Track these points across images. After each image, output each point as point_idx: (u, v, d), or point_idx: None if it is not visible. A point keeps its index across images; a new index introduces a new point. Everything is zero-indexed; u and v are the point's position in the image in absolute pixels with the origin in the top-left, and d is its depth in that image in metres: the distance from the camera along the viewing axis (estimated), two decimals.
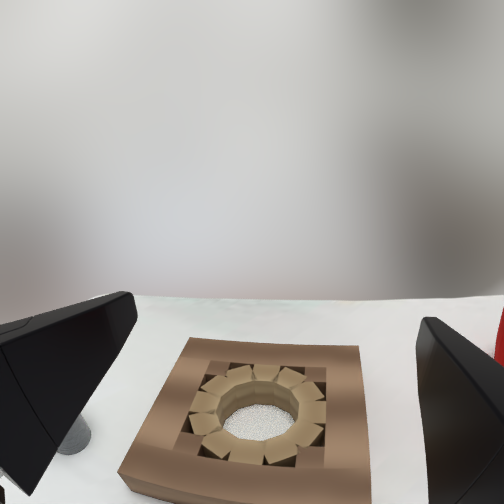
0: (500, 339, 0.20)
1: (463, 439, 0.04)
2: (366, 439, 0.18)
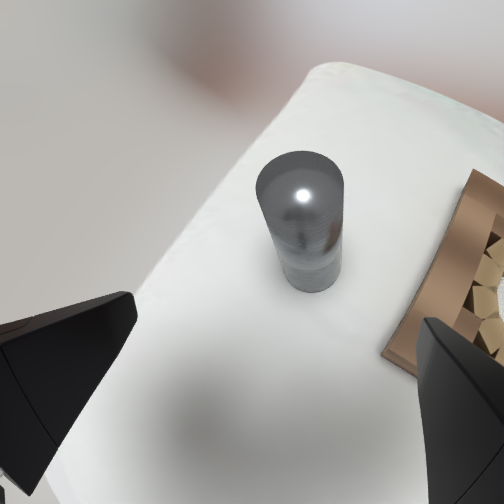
0: None
1: (463, 439, 0.04)
2: None
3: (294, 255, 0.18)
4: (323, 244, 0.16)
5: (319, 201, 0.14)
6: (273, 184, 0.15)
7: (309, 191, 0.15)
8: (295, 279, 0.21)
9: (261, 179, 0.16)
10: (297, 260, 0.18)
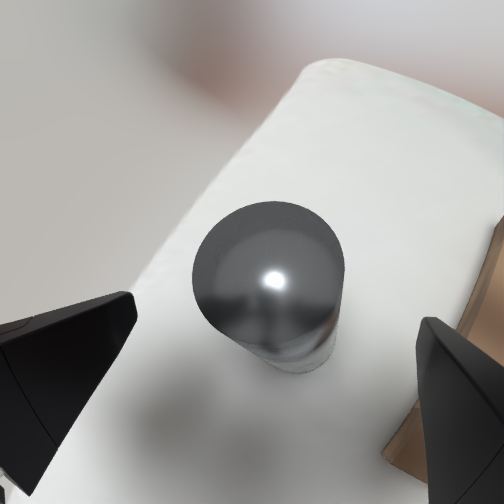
0: None
1: (463, 439, 0.04)
2: None
3: (263, 357, 0.11)
4: (306, 351, 0.10)
5: (298, 305, 0.08)
6: (222, 266, 0.09)
7: (282, 283, 0.08)
8: None
9: (203, 255, 0.09)
10: (268, 360, 0.12)
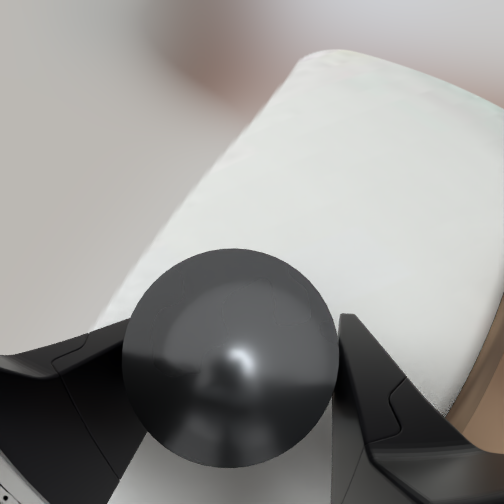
0: None
1: (344, 441, 0.05)
2: None
3: None
4: None
5: (265, 418, 0.05)
6: (159, 348, 0.06)
7: (242, 383, 0.05)
8: None
9: (135, 327, 0.06)
10: None
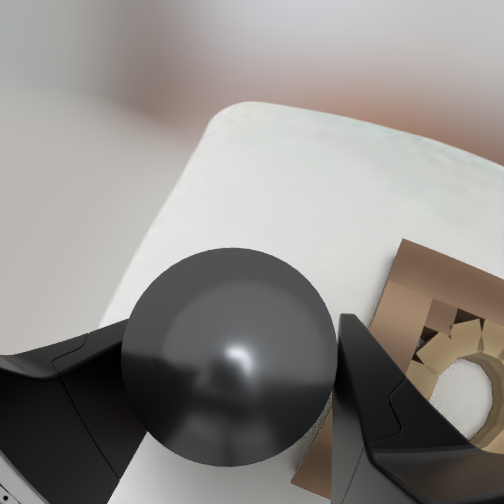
0: None
1: (344, 441, 0.05)
2: None
3: None
4: None
5: (264, 417, 0.05)
6: (158, 347, 0.06)
7: (240, 381, 0.05)
8: None
9: (134, 326, 0.06)
10: None
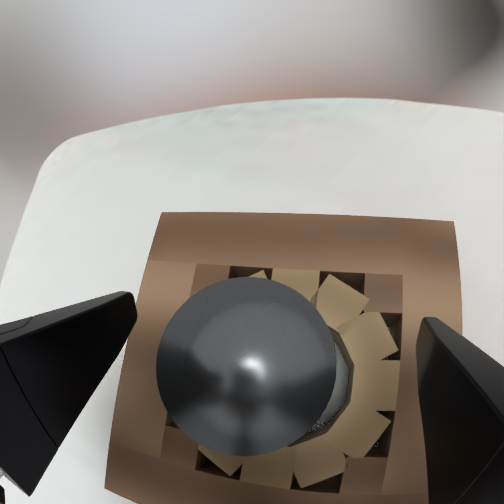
0: None
1: (463, 439, 0.04)
2: None
3: None
4: None
5: (278, 415, 0.06)
6: (189, 359, 0.07)
7: (259, 387, 0.07)
8: None
9: (167, 342, 0.07)
10: None
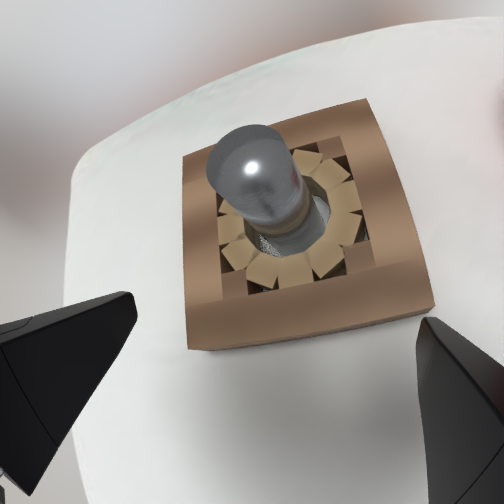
0: None
1: (463, 439, 0.04)
2: (411, 220, 0.18)
3: (266, 225, 0.18)
4: (288, 207, 0.17)
5: (266, 168, 0.15)
6: (221, 167, 0.16)
7: (255, 162, 0.15)
8: (281, 248, 0.22)
9: (210, 166, 0.16)
10: (271, 230, 0.19)
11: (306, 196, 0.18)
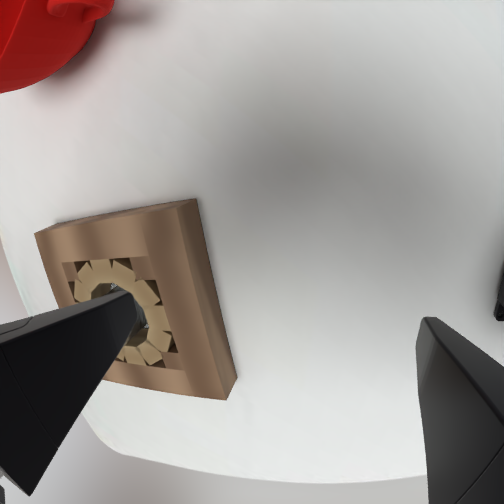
0: None
1: (463, 439, 0.04)
2: (113, 220, 0.22)
3: None
4: None
5: None
6: None
7: None
8: (144, 320, 0.25)
9: None
10: None
11: None
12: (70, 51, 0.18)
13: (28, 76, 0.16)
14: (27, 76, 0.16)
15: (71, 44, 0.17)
